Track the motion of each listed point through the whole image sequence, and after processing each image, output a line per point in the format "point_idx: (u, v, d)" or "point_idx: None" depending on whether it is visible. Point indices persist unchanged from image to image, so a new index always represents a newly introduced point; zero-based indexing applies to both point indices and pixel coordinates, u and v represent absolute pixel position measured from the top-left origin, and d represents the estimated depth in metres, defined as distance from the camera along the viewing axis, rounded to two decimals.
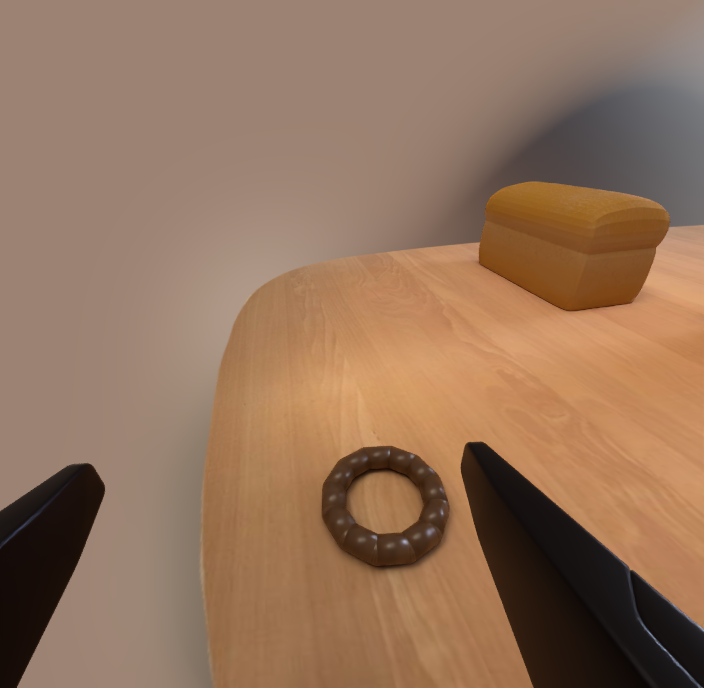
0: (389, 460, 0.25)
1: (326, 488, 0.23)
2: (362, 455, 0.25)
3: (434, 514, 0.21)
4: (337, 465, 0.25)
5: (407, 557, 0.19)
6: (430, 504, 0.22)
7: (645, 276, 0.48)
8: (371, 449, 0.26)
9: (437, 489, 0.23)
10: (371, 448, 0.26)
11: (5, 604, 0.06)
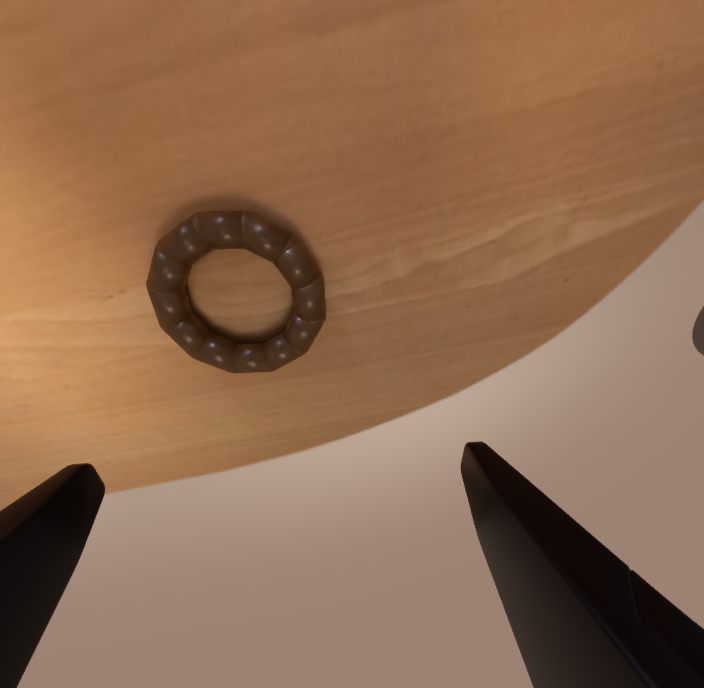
0: (178, 291, 0.16)
1: (242, 372, 0.18)
2: (180, 331, 0.17)
3: (269, 244, 0.15)
4: (204, 361, 0.18)
5: (322, 284, 0.16)
6: (251, 246, 0.15)
7: None
8: (165, 319, 0.16)
9: (225, 230, 0.14)
10: (163, 319, 0.16)
11: (5, 604, 0.06)
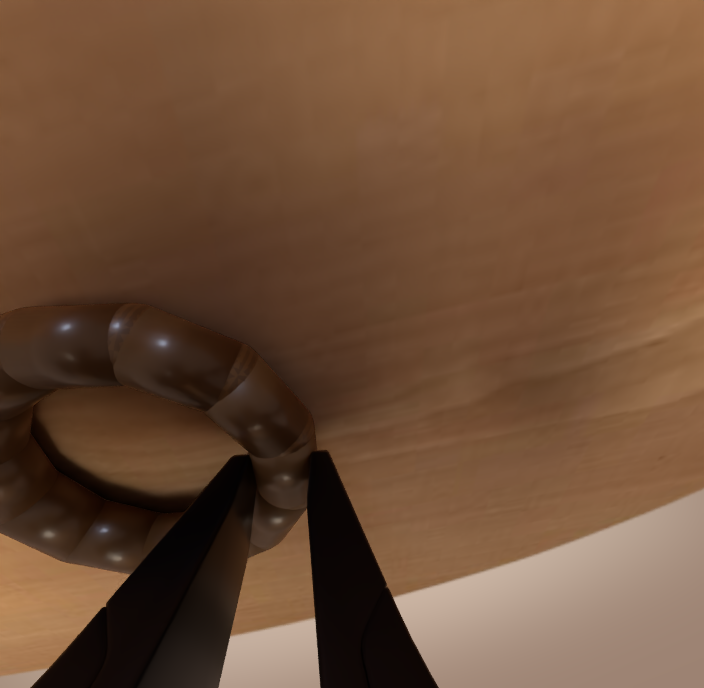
0: (1, 463, 0.07)
1: None
2: (21, 531, 0.08)
3: (181, 386, 0.06)
4: None
5: (310, 441, 0.08)
6: (142, 387, 0.06)
7: None
8: None
9: (68, 361, 0.06)
10: None
11: (219, 589, 0.06)
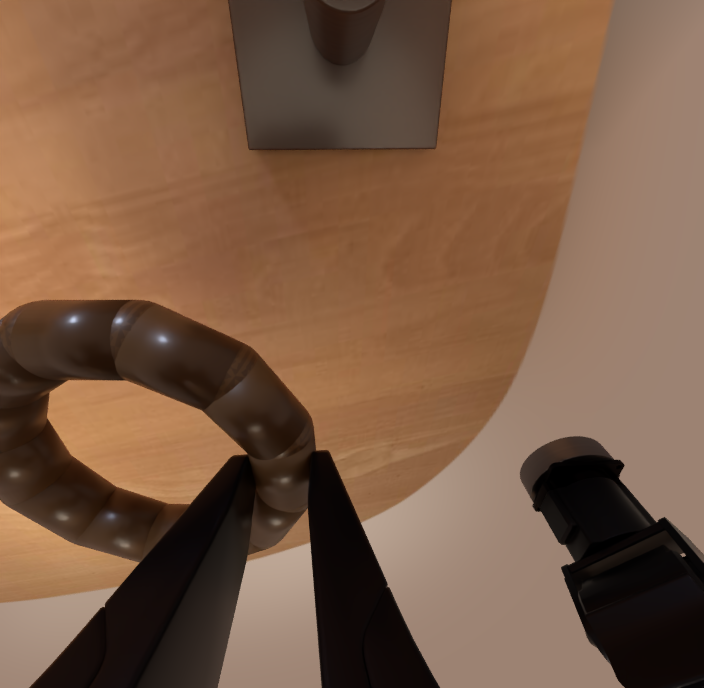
0: (17, 446, 0.08)
1: None
2: (34, 511, 0.09)
3: (179, 384, 0.06)
4: None
5: (308, 445, 0.08)
6: (143, 383, 0.06)
7: None
8: None
9: (73, 354, 0.06)
10: None
11: (218, 589, 0.06)
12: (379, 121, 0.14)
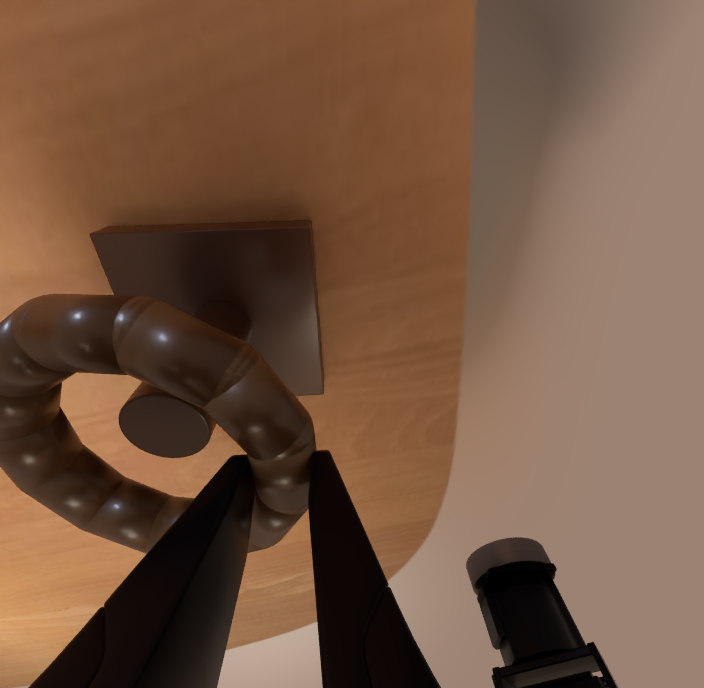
0: (30, 434, 0.08)
1: None
2: (45, 496, 0.09)
3: (178, 382, 0.06)
4: None
5: (307, 448, 0.08)
6: (144, 379, 0.07)
7: None
8: (13, 477, 0.09)
9: (78, 348, 0.06)
10: (9, 476, 0.09)
11: (218, 589, 0.06)
12: None
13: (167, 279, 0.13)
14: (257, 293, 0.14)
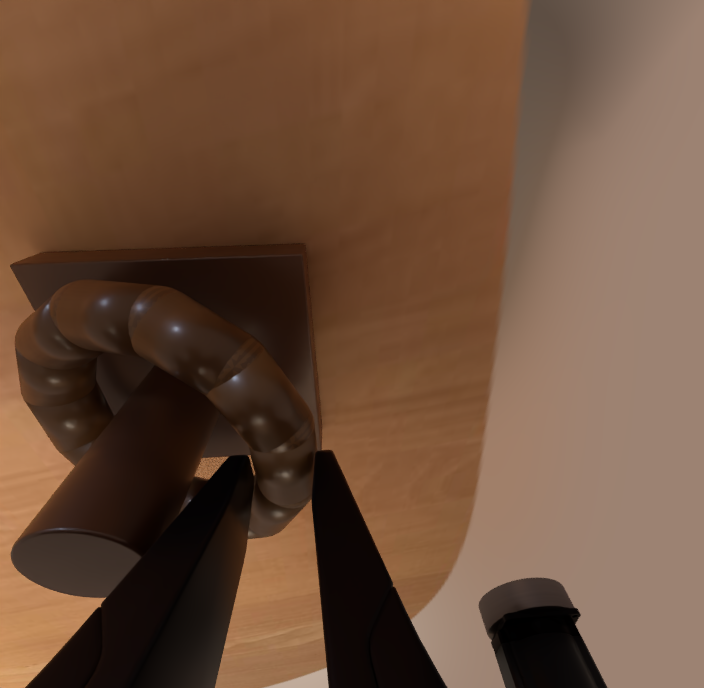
0: (67, 403, 0.09)
1: None
2: (78, 460, 0.10)
3: (183, 368, 0.07)
4: None
5: (304, 445, 0.08)
6: (156, 363, 0.07)
7: None
8: (53, 440, 0.10)
9: (100, 329, 0.07)
10: (50, 439, 0.10)
11: (215, 589, 0.06)
12: None
13: None
14: None
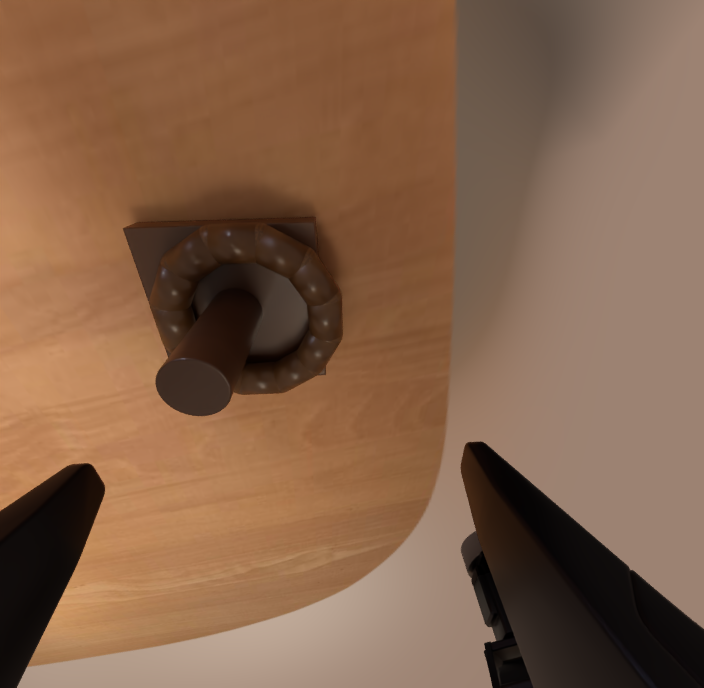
0: (183, 309, 0.15)
1: (251, 393, 0.17)
2: None
3: (284, 259, 0.14)
4: None
5: (340, 301, 0.15)
6: (265, 261, 0.14)
7: None
8: (169, 339, 0.15)
9: (236, 244, 0.13)
10: (167, 338, 0.15)
11: (5, 604, 0.06)
12: None
13: None
14: (267, 281, 0.16)
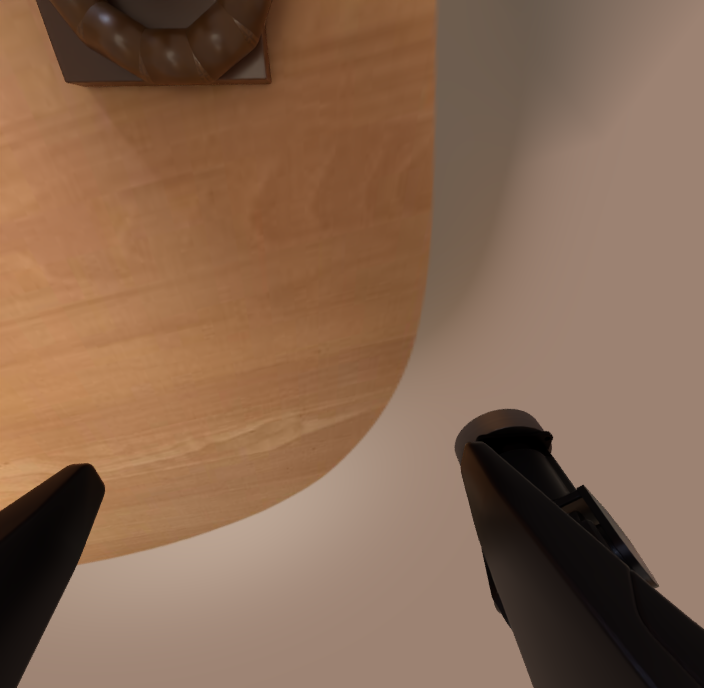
0: None
1: (158, 71, 0.12)
2: None
3: None
4: (98, 42, 0.12)
5: None
6: None
7: None
8: None
9: None
10: None
11: (5, 604, 0.06)
12: None
13: None
14: None
